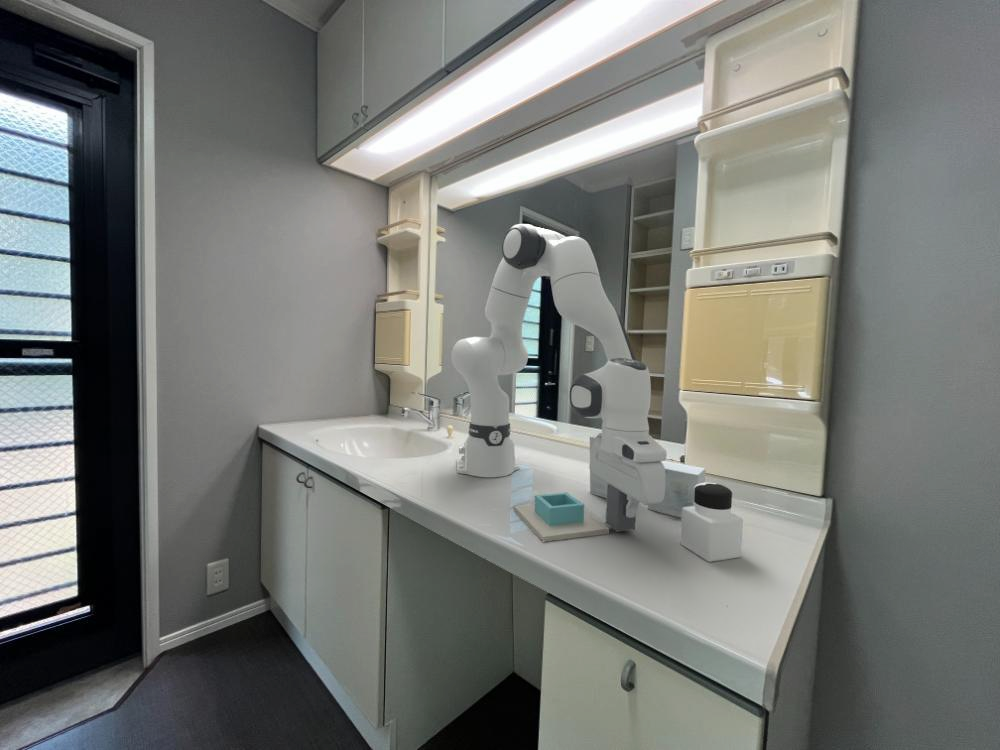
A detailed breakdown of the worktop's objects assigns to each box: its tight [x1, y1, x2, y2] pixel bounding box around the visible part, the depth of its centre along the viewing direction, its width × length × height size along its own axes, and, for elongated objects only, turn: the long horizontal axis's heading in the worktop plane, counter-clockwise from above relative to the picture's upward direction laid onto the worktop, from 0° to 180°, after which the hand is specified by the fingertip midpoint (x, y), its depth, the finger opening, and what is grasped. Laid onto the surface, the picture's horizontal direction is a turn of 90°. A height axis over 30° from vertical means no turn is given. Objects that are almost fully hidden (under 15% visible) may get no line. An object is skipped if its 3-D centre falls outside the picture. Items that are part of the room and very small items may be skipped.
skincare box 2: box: [647, 460, 706, 519], centre depth 93 cm, size 10×6×10 cm, turn 50°
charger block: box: [605, 484, 637, 532], centre depth 82 cm, size 4×4×10 cm
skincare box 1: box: [589, 434, 607, 500], centre depth 102 cm, size 8×6×15 cm
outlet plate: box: [513, 492, 610, 542], centre depth 87 cm, size 16×14×4 cm
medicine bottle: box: [680, 482, 744, 563], centre depth 75 cm, size 7×7×12 cm
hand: (620, 510), depth 82 cm, fingers closed on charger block, 4 cm apart
